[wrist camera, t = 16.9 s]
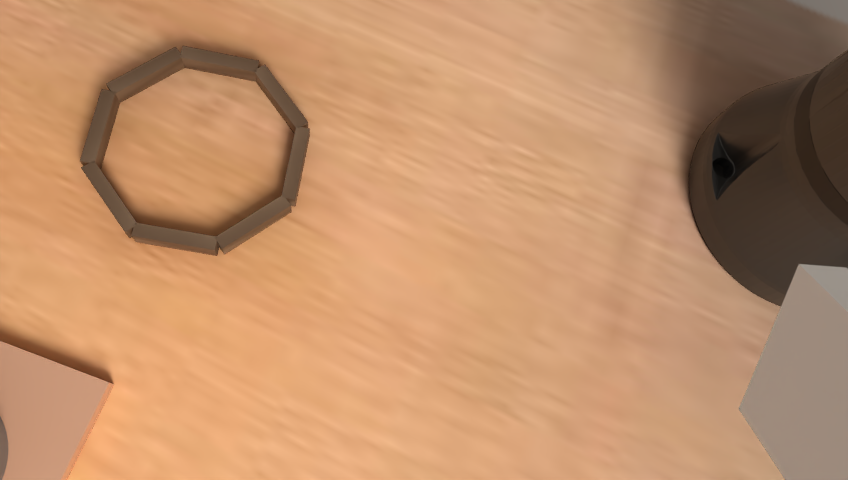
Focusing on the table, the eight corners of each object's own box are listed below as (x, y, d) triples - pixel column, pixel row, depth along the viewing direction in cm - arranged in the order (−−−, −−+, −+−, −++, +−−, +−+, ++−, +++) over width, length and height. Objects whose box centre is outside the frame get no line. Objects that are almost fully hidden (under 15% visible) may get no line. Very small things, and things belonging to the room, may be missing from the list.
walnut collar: (343, 178, 46) (344, 171, 45) (166, 291, 42) (162, 286, 41) (231, 28, 48) (230, 17, 47) (52, 125, 44) (45, 116, 43)
